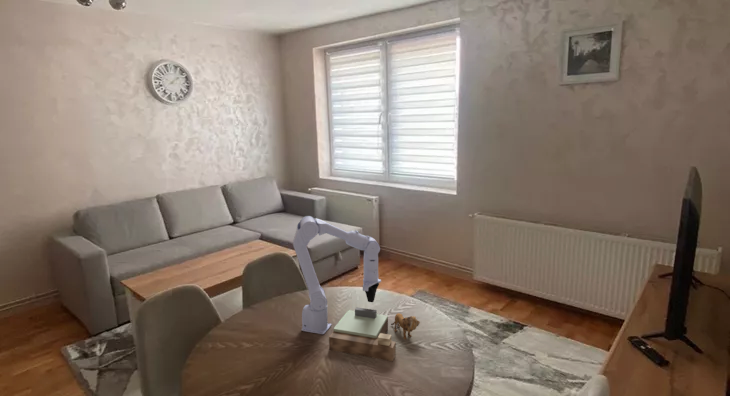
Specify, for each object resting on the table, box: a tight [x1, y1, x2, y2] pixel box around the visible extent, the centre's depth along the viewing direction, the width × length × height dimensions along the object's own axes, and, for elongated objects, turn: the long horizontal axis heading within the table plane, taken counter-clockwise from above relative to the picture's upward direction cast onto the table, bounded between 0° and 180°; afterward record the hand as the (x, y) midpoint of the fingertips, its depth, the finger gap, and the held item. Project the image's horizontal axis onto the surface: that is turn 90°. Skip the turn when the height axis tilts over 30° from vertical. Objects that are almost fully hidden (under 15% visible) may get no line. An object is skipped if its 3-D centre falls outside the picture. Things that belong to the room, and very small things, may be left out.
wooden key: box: [378, 333, 392, 346], centre depth 142 cm, size 4×3×2 cm
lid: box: [332, 307, 389, 338], centre depth 155 cm, size 16×16×4 cm
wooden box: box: [328, 318, 397, 362], centre depth 153 cm, size 23×20×5 cm
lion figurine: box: [390, 313, 421, 340], centre depth 158 cm, size 15×5×9 cm, turn 36°
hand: (370, 301), depth 165 cm, fingers closed
